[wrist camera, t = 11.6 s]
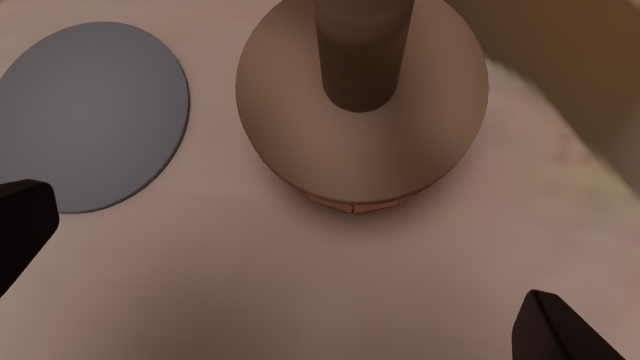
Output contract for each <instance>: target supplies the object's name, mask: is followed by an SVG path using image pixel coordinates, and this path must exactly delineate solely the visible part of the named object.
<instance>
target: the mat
mask: <svg viewBox="0 0 640 360" xmlns="http://www.w3.org/2000/svg"><path fill="white" fill-rule="evenodd" d="M189 107H190V102H189V90H188V85H187V81H186V78H185V75H184V72H183V70H182V68H181V66H180V64H179V62H178V61H177V59H176V58H175V57H174V55H173V54H172V53H171V51H170V50H169V49H168V48H167V47H166V46H165V45H164V44H163V43H162V42H161V41H160V40H159V39H157V38H156V37H154V36H153V35H152V34H150V33H148V32H146V31H144V30H142V29H140V28H137V27H134V26H131V25H127V24H122V23H116V22H92V23H85V24H80V25H76V26H72V27H68V28H66V29H63V30H60V31H58V32H56V33H54V34H51V35H49V36H47V37H45V38H44V39H42V40H41V41H39V42H37V43H36V44H34V45H33V46H32V47H30V48H29V49H28V50H26V51H25V52H24V53H23V54H22V55H21V56H20V57H19V58H18V59H17V60H15V61H14V63H13V64H12V65H11V66H10V67H9V68H8V70H7V71H6V72H5V73H4V75H3V76H2V78H1V79H0V183H1V184H3V183H8V182H14V181H19V180H24V179H34V180H39V181H43V182H47V183H49V184H50V185H51V186H52V187H53V189H54V193H55V198H56V203H57V208H58V213H85V212H92V211H96V210H100V209H104V208H107V207H110V206H112V205H115V204H117V203H120V202H122V201H124V200H125V199H127V198H129V197H131V196H133V195H134V194H136V193H137V192H139V191H140V190H142V189H143V188H144V187H146V186H147V185H148V184H149V183H150V182H151V181H153V180H154V179H155V178H156V177H157V176H158V175H159V174H160V172H161V171H162V170H163V169H164V168H165V167H166V166H167V164H168V163H169V161H170V160H171V159H172V157H173V156H174V154H175V152H176V150H177V148H178V147H179V145H180V143H181V140H182V138H183V135H184V133H185V130H186V126H187V122H188V116H189Z"/></svg>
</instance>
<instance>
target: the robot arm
mask: <svg viewBox="0 0 640 360" xmlns="http://www.w3.org/2000/svg"><path fill="white" fill-rule="evenodd" d="M58 225H59V213H58V208H57V203H56V198H55V193H54V189H53V187H52V186H51V185H50V184H49V183H47V182H43V181H39V180H34V179H24V180H19V181H14V182H8V183H3V184H0V298H1V297H2V296H3V295H4V293H5V292H6V291H7V290H8V289H9V288H10V287H11V285H12V284H13V283H14V282H15V281H16V279H17V278H18V277H19V276H20V275H21V273H22V272H23V271H24V270H25V268H26V267H27V266H28V265H29V263H30V262H31V261H32V260H33V258H34V257H35V256H36V255H37V254H38V252H39V251H40V250H41V249H42V247H43V246H44V245H45V244H46V242H47V241H48V240H49V239H50V238H51V236H52V235H53V234H54V233H55V231H56V230H57V228H58ZM512 359H513V360H625V359H624V358H623V357H622V356H621V355H620V354H619V353H618V352H617V351H616V350H615V349H614V348H613V347H612V346H611V345H610V344H609V343H608V342H606V341H605V340H604V339H603V338H602V337H601V336H600V335H599V334H598V333H597V332H596V331H595V330H594V329H593V328H592V327H591V326H590V325H589V324H588V323H587V322H585V321H584V320H583V319H582V318H581V317H580V316H579V315H578V314H577V313H576V312H575V311H574V310H573V309H572V308H571V307H570V306H569V305H568V304H567V303H566V302H564V301H563V300H562V299H561V298H560V297H559V296H558V295H556V294H553V293H549V292H544V291H539V290H535V289H533V290H530V291H529V292H528V293H527V294H526V296H525V299H524V301H523V304H522V306H521V308H520V311H519V313H518V316H517V318H516V321H515V323H514V326H513V330H512Z"/></svg>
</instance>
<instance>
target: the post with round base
mask: <svg viewBox="0 0 640 360" xmlns="http://www.w3.org/2000/svg"><path fill="white" fill-rule="evenodd" d="M488 90H489V85H488V72H487V67H486V63H485V58H484V55H483V53H482V50H481V47H480V45H479V43H478V41H477V39H476V37H475V36H474V34H473V32H472V30H471V29H470V28H469V26H468V25H467V24H466V22H465V21H464V20H463V18H462V17H461V16H460V15H459V14H458V13H457V12H456V11H455V10H454V9H453V8H452V7H450V6H449V5H448V4H447V3H445V2H444V1H443V0H283V1H281V2H280V3H279V4H278V5H276V6H275V7H274V8H273V9H272V10H271V11H270V12H269V13H268V14H267V15H266V16H265V17H264V18H263V19H262V20H261V21H260V22H259V24H258V25H257V26H256V28H255V29H254V30H253V32H252V34H251V35H250V37H249V39H248V41H247V42H246V45H245V47H244V49H243V52H242V54H241V57H240V61H239V65H238V68H237V75H236V102H237V108H238V113H239V116H240V119H241V122H242V125H243V128H244V130H245V132H246V134H247V136H248V138H249V140H250V142H251V144H252V145H253V147H254V149H255V150H256V152H257V153H258V155H259V156H260V157H261V159H262V160H263V162H264V163H265V164H266V165H267V166H268V167H269V168H270V169H271V170H272V171H273V172H274V173H275V174H276V175H277V176H279V177H280V178H281V179H282V180H284V181H285V182H286V183H288V184H289V185H291V186H293V187H294V188H296V189H298V190H299V191H301V192H304V193H306V194H308V195H310V196H313V197H315V198H318V199H322V200H325V201H329V202H333V203H339V204H345V205H375V204H383V203H388V202H392V201H397V200H400V199H403V198H406V197H408V196H411V195H414V194H416V193H418V192H420V191H422V190H424V189H426V188H427V187H429V186H431V185H432V184H434V183H435V182H436V181H438V180H439V179H441V178H442V177H443V176H444V175H445V174H447V173H448V172H449V171H450V170H451V169H452V168H453V167H454V166H455V165H456V164H457V162H458V161H459V160H460V159H461V157H462V156H463V155H464V154H465V152H466V151H467V149H468V148H469V147H470V145H471V143H472V142H473V140H474V138H475V136H476V135H477V133H478V131H479V128H480V126H481V123H482V121H483V119H484V115H485V111H486V107H487V102H488Z"/></svg>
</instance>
